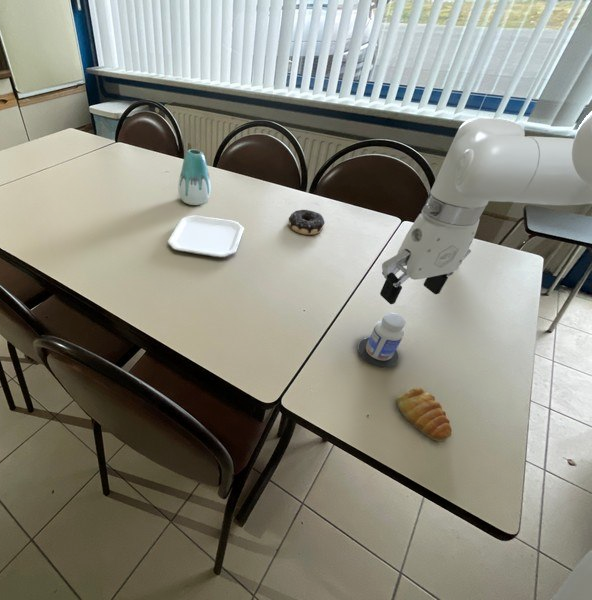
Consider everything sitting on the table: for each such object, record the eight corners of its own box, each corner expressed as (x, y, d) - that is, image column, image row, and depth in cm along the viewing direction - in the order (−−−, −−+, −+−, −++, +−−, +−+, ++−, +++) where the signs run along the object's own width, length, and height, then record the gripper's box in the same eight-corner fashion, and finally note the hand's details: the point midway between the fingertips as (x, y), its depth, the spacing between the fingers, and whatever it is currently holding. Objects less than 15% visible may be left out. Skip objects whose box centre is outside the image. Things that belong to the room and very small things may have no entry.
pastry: (458, 436, 64) (468, 425, 62) (427, 447, 63) (437, 436, 60) (418, 393, 71) (426, 381, 69) (389, 402, 70) (396, 390, 67)
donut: (319, 219, 122) (322, 208, 120) (325, 237, 113) (329, 226, 111) (286, 217, 123) (288, 206, 120) (289, 236, 114) (292, 224, 112)
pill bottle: (395, 350, 78) (413, 317, 72) (387, 365, 75) (405, 333, 69) (369, 338, 81) (385, 306, 75) (361, 352, 78) (376, 320, 71)
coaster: (405, 362, 77) (407, 361, 76) (373, 371, 75) (374, 369, 75) (380, 336, 82) (381, 334, 82) (350, 343, 81) (351, 341, 80)
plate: (184, 219, 122) (184, 213, 121) (245, 228, 118) (246, 221, 116) (163, 252, 107) (163, 246, 106) (233, 264, 103) (233, 257, 101)
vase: (215, 197, 134) (217, 147, 122) (202, 211, 126) (203, 159, 114) (186, 191, 138) (186, 142, 126) (172, 204, 130) (170, 153, 118)
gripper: (424, 228, 51) (382, 317, 62) (518, 212, 55) (463, 298, 66) (388, 205, 57) (355, 290, 68) (475, 191, 61) (431, 274, 72)
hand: (409, 294), depth 67 cm, fingers open, 9 cm apart
